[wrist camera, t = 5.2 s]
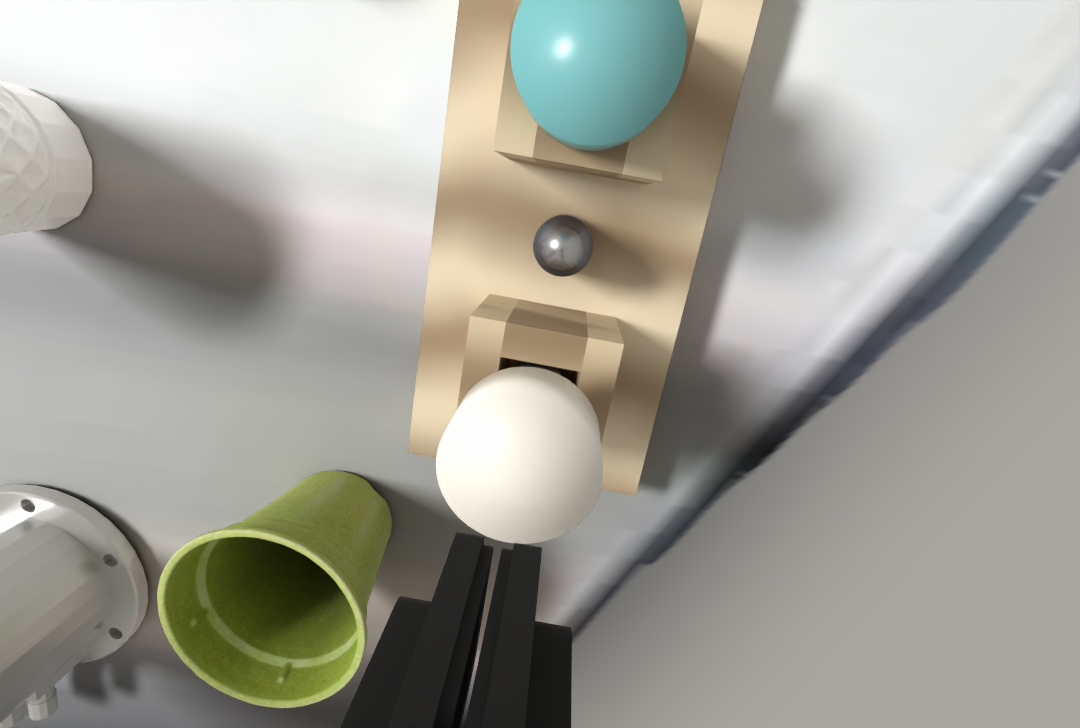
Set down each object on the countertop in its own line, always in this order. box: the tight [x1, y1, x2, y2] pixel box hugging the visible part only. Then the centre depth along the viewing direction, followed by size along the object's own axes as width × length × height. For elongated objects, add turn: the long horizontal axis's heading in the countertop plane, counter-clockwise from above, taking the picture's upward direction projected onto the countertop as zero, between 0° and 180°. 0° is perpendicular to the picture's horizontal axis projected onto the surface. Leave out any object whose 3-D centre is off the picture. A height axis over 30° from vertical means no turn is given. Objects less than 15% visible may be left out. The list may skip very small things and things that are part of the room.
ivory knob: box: [436, 362, 603, 544], centre depth 20 cm, size 5×5×8 cm
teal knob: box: [510, 0, 687, 151], centre depth 19 cm, size 5×5×8 cm
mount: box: [408, 0, 763, 495], centre depth 23 cm, size 24×12×7 cm, turn 170°
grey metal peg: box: [533, 214, 593, 277], centre depth 23 cm, size 2×2×4 cm
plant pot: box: [157, 471, 392, 708], centre depth 28 cm, size 9×9×9 cm
